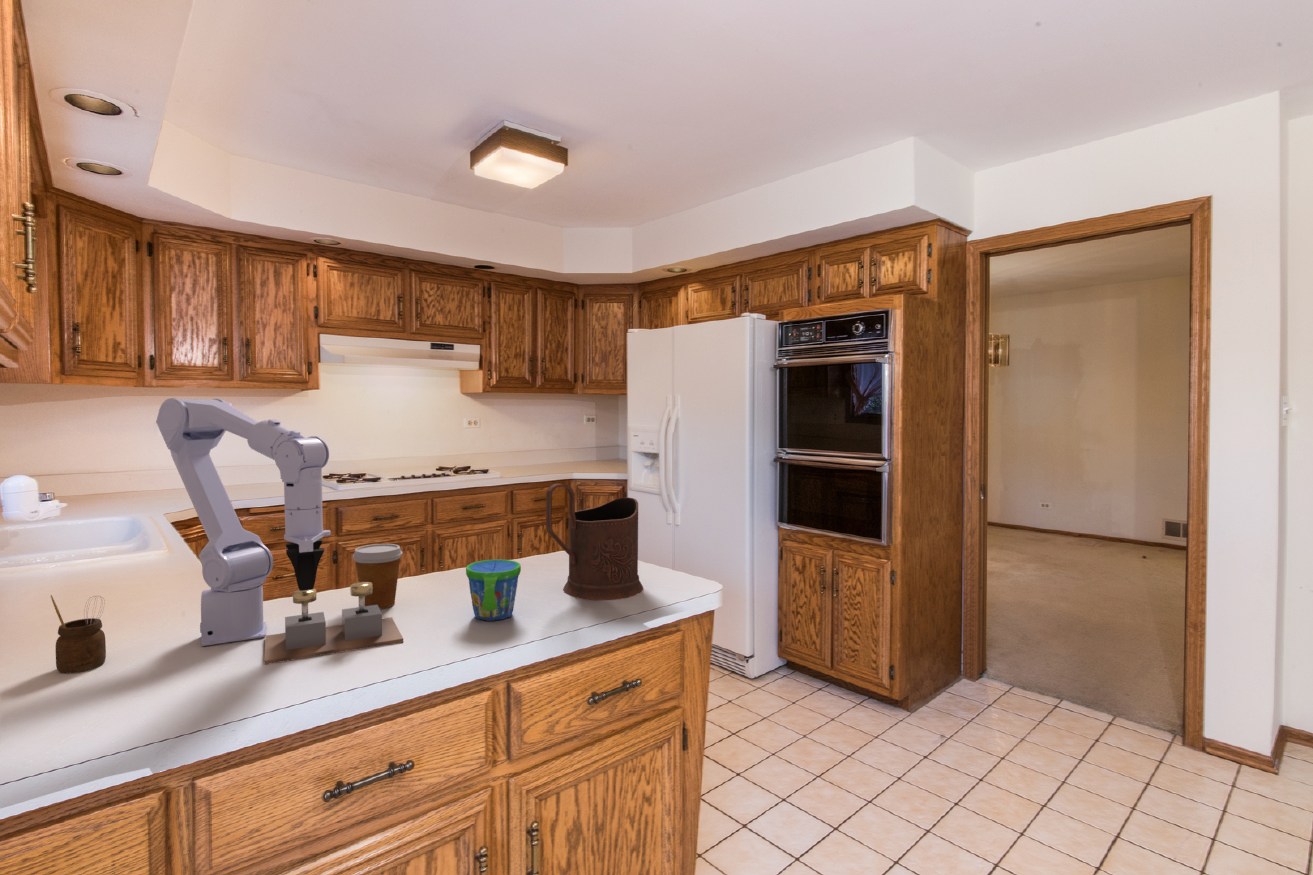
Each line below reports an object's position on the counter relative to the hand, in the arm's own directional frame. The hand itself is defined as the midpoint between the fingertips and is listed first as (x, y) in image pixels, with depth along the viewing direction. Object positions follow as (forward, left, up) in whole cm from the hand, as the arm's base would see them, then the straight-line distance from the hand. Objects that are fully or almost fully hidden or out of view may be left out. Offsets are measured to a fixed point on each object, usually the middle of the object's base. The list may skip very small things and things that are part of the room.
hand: (305, 585), depth 113 cm
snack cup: (+33, 0, -11) cm, 34 cm away
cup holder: (+58, +7, -11) cm, 59 cm away
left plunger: (0, 0, -6) cm, 7 cm away
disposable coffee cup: (+14, +18, -11) cm, 25 cm away
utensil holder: (-31, +6, -11) cm, 34 cm away
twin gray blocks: (+4, 0, -10) cm, 11 cm away
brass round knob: (+9, 0, -7) cm, 11 cm away
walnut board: (+4, 0, -10) cm, 11 cm away
